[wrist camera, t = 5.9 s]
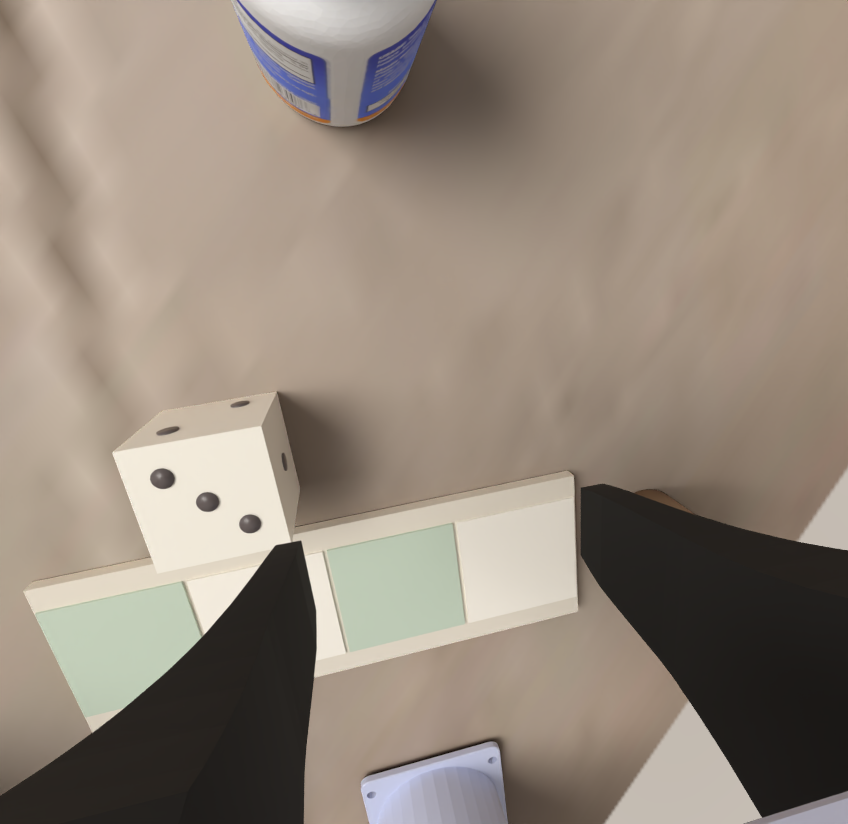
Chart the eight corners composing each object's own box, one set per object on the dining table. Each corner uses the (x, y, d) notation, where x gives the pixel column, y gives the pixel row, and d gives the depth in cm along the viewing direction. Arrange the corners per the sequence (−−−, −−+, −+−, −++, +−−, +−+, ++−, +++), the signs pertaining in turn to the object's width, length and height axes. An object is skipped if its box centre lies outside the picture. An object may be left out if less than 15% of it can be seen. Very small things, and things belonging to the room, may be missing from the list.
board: (572, 603, 25) (579, 613, 25) (98, 721, 22) (91, 735, 21) (568, 470, 23) (575, 476, 22) (31, 582, 20) (21, 593, 19)
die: (301, 487, 21) (292, 545, 16) (194, 509, 20) (156, 574, 16) (278, 389, 19) (262, 424, 15) (162, 409, 19) (110, 451, 14)
